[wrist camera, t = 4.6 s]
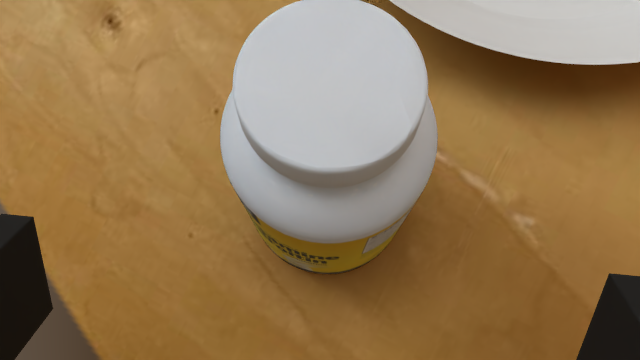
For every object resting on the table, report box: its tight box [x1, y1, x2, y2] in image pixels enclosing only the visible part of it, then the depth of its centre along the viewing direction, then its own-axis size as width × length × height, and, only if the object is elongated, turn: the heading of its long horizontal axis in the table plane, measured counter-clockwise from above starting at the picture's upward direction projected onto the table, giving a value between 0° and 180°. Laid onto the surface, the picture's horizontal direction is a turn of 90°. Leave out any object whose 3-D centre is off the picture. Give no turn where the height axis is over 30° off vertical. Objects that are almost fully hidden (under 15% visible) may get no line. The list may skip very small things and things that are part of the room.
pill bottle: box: [220, 0, 438, 274], centre depth 19 cm, size 6×6×12 cm
